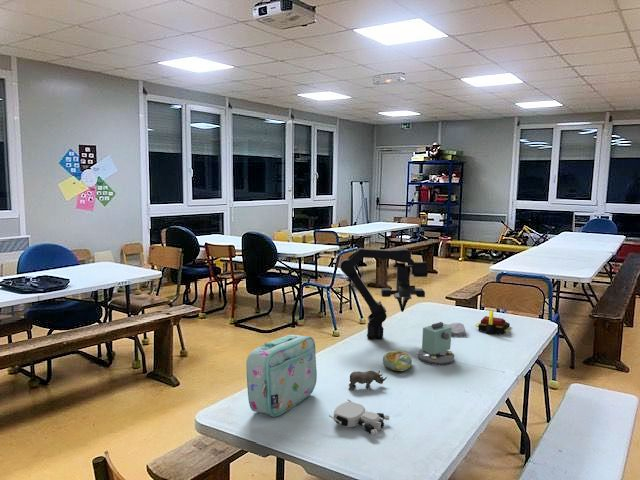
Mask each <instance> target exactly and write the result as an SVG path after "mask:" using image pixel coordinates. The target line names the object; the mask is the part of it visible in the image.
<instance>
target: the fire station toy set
mask: <svg viewBox="0 0 640 480" xmlns="http://www.w3.org/2000/svg"><path fill="white" fill-rule="evenodd" d="M488 314H489V316H486V315H485V316H484V317H483V318H482V319H481V320H480V322H477V323H476V324H475V327H476V328H478V331H479V332H485V334H488V335H496V334H497V335H505V333H506V332H508V331H509V330H510V329H511V327H510V325H511V324H510V323H509V322H507V321H506V320H505V319H504V318H500V317H494V310H489V313H488Z"/></svg>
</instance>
